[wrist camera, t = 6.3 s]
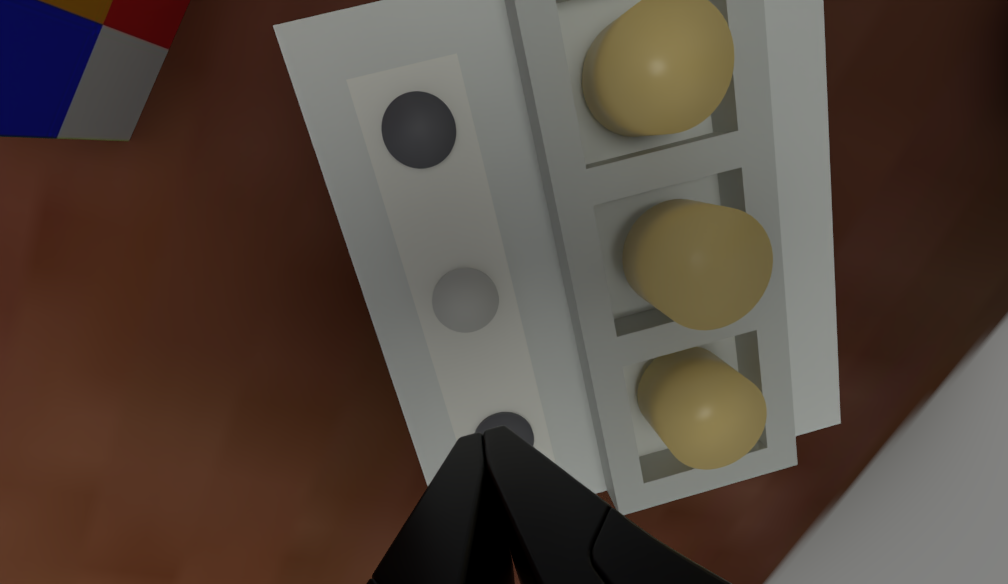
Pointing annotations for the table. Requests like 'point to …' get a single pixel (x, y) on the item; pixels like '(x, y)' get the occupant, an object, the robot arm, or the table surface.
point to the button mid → (698, 262)
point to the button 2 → (701, 408)
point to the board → (566, 225)
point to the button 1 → (659, 67)
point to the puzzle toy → (81, 65)
